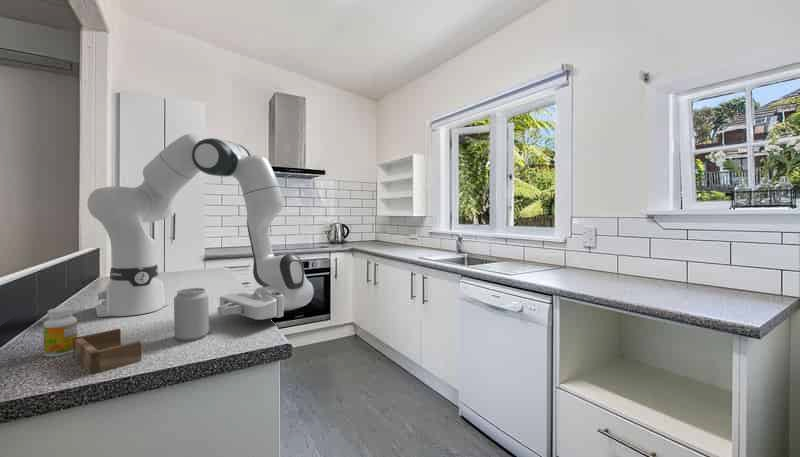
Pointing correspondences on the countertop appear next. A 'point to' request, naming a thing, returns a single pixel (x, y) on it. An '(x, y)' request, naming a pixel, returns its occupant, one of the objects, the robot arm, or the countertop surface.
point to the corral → (105, 351)
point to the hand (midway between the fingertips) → (219, 311)
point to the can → (191, 314)
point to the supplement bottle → (59, 332)
